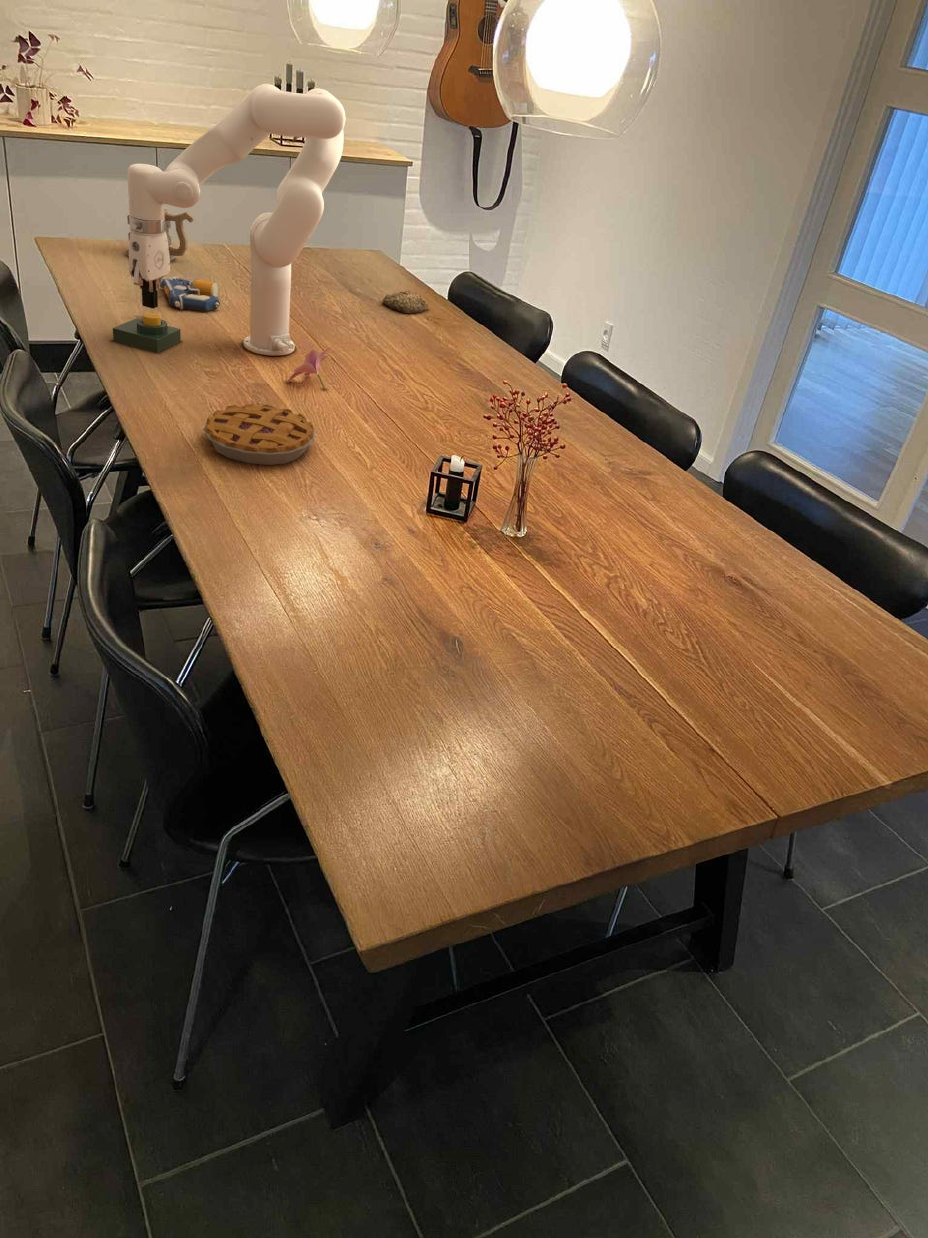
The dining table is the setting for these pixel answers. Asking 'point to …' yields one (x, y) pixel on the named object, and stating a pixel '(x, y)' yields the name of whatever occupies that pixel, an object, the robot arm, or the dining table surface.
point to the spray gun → (191, 293)
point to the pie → (259, 434)
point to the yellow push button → (151, 319)
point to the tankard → (179, 229)
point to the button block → (147, 335)
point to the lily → (310, 364)
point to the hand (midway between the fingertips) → (150, 306)
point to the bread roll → (406, 302)
